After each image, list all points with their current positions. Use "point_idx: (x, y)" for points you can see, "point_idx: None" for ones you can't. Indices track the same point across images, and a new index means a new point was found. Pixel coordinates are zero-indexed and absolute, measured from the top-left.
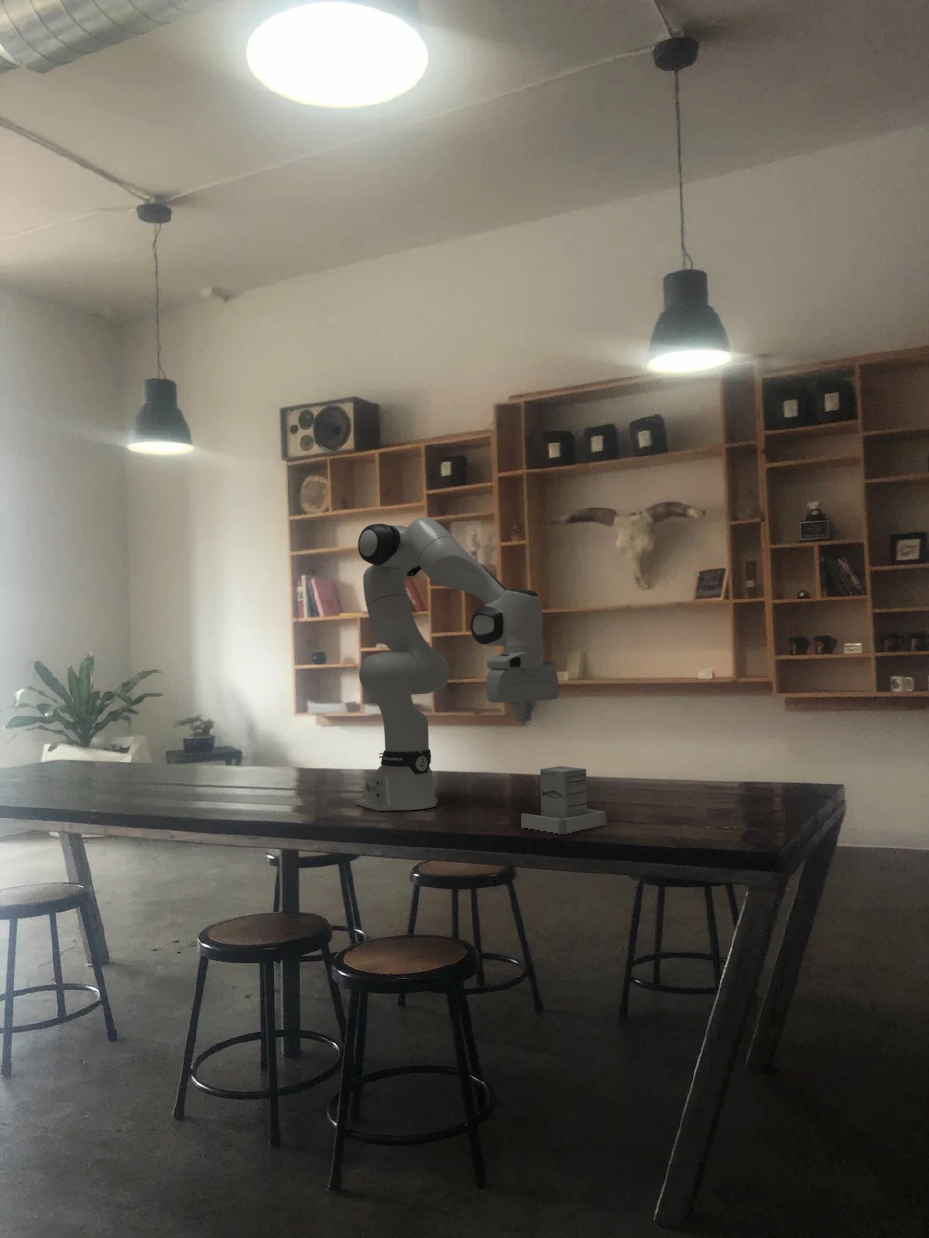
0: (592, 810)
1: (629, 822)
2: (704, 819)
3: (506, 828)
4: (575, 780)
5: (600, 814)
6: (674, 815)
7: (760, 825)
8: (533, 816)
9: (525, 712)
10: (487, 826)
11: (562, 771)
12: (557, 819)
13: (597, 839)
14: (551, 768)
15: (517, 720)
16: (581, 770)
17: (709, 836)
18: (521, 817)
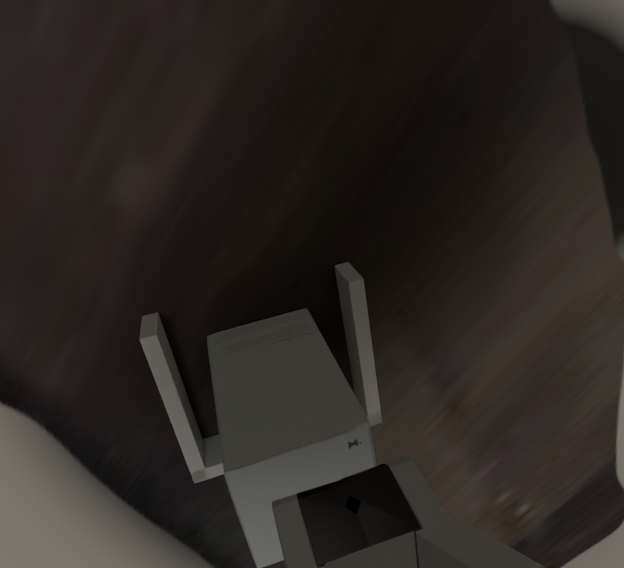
0: (368, 390)
1: (441, 385)
2: (574, 428)
3: (92, 294)
4: None
5: None
6: (583, 358)
7: (574, 515)
8: (158, 388)
9: (423, 553)
10: (43, 221)
11: (255, 562)
12: (189, 468)
13: (230, 524)
14: (271, 486)
15: (272, 508)
16: None
17: None
18: (140, 334)
